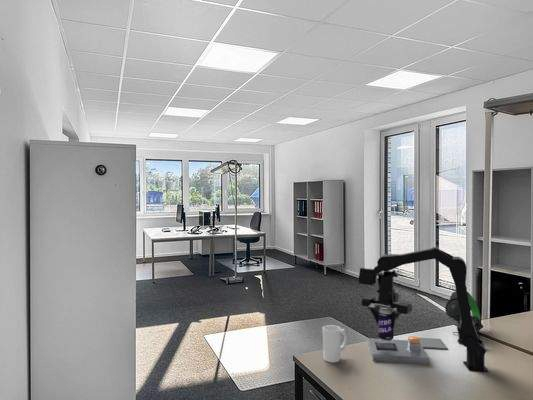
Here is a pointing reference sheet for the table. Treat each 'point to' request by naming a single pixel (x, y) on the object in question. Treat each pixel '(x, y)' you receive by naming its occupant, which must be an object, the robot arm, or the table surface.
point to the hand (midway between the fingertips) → (385, 326)
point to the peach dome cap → (414, 340)
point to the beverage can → (385, 324)
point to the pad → (432, 343)
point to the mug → (333, 343)
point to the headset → (454, 312)
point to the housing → (398, 351)
